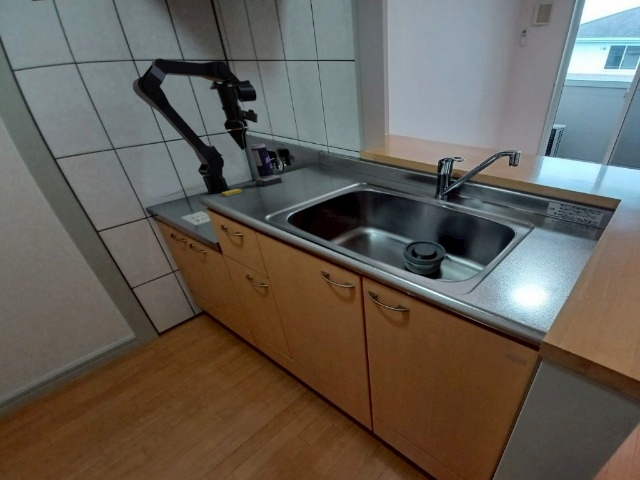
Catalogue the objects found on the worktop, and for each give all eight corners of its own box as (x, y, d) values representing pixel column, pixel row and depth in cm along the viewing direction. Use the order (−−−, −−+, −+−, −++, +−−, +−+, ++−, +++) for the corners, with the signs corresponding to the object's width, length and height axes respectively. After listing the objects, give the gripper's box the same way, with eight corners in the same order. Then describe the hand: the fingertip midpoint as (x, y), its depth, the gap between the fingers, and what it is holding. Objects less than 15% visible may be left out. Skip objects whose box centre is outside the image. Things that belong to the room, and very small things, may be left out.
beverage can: (272, 177, 126) (262, 144, 119) (258, 179, 126) (247, 145, 119) (276, 175, 131) (267, 142, 124) (262, 176, 130) (252, 144, 124)
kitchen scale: (265, 186, 125) (263, 180, 124) (257, 185, 129) (255, 178, 128) (282, 182, 129) (280, 175, 128) (273, 180, 134) (271, 174, 132)
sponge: (226, 196, 116) (225, 193, 116) (222, 195, 118) (221, 192, 118) (242, 192, 120) (241, 189, 119) (238, 191, 122) (237, 188, 121)
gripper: (249, 99, 114) (263, 147, 122) (254, 101, 129) (266, 144, 138) (216, 103, 112) (233, 152, 120) (225, 104, 127) (239, 147, 135)
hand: (244, 148), depth 128 cm, fingers open, 9 cm apart
